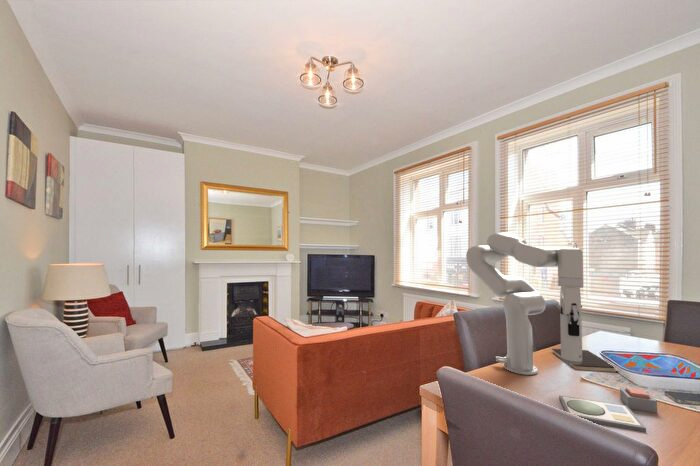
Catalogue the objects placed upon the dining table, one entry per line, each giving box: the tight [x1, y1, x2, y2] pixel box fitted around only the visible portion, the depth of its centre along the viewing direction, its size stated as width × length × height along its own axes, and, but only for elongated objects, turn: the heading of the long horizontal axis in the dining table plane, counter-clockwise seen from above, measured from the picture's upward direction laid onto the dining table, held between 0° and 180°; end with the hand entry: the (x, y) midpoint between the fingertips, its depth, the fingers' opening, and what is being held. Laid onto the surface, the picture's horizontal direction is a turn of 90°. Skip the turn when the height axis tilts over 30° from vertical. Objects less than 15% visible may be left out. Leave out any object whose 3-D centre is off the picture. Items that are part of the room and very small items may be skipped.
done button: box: [625, 386, 649, 399], centre depth 103 cm, size 4×4×2 cm
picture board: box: [558, 395, 647, 433], centre depth 98 cm, size 18×14×1 cm
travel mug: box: [559, 305, 583, 365], centre depth 115 cm, size 6×7×20 cm
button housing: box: [619, 387, 658, 413], centre depth 103 cm, size 7×7×4 cm
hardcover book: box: [551, 348, 617, 373], centre depth 144 cm, size 16×23×2 cm
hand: (571, 332), depth 115 cm, fingers closed on travel mug, 6 cm apart
